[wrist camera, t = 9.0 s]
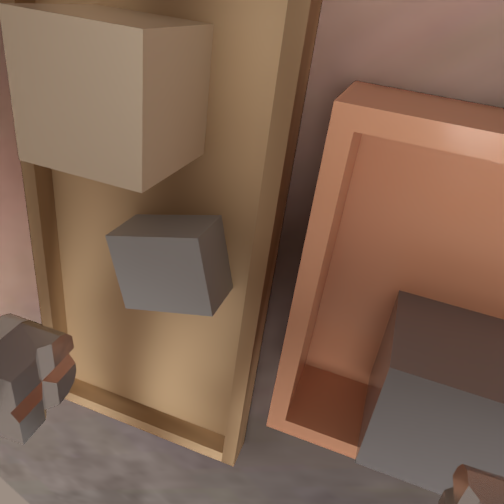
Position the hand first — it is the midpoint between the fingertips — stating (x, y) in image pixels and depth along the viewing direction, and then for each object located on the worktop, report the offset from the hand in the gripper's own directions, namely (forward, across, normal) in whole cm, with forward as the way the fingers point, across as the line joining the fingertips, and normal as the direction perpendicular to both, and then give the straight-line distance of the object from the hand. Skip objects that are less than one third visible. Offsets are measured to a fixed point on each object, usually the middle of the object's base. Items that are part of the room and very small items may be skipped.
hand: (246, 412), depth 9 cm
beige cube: (+8, +6, -4) cm, 11 cm away
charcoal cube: (+7, -5, +3) cm, 9 cm away
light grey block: (+8, +5, +2) cm, 9 cm away
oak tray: (+8, +6, +2) cm, 11 cm away
